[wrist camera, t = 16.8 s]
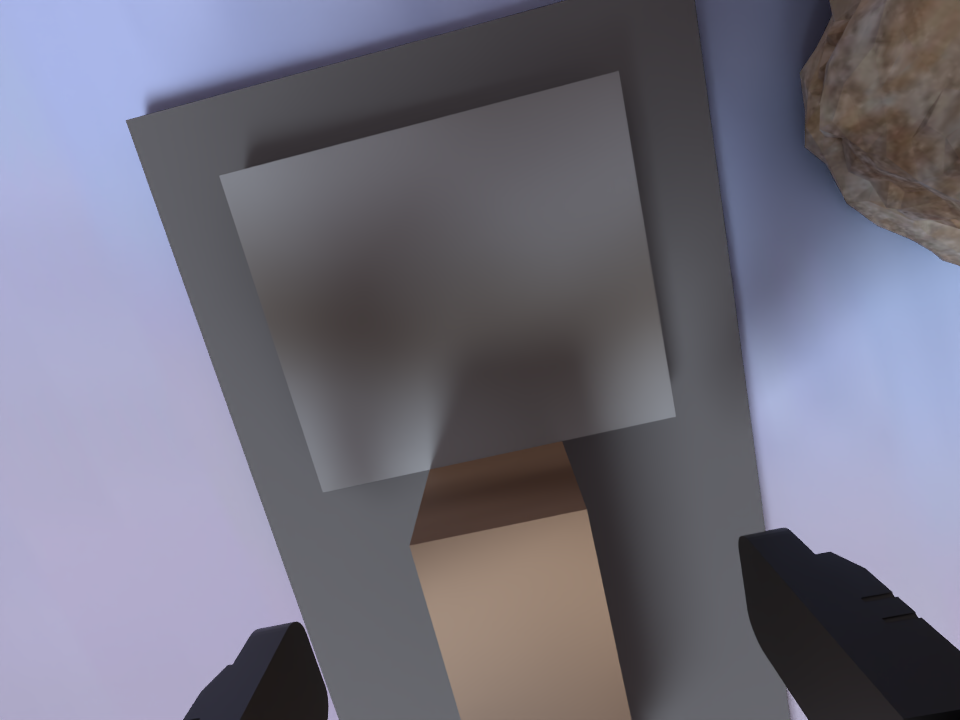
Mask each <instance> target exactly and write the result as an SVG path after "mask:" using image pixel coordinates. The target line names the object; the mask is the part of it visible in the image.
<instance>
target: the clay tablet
mask: <svg viewBox="0 0 960 720" xmlns="http://www.w3.org/2000/svg"><path fill="white" fill-rule="evenodd" d="M829 2H830V7H831V12H832V16H831V18H830V20H829V23H828V25H827V27H826V29H825V31H824V33H823V36H822V37H821V39H820V41H819V43H818V45H817V47H816V49H815V50H814V52H813V53H812V55H811V56H810V58H809V59H808V61H807V62H806V64H805V65H804V67H803V68H802V70H801V71H800V79H801V87H802V94H803V102H804V109H805V148H806V149H808V150H809V151H810V152H811V153H813V154H814V155H815V156H816V157H817V158H819V159H820V160H821V161H822V162H824V163H825V164H826V165H827V167H828V169H829V171H830V173H831V174H832V176H833V178H834V180H835V182H836V184H837V186H838V188H839V190H840V191H841V193H842V195H843V197H844V199H845V201H846V203H847V204H848V205H850V206H851V207H852V208H854V209H855V210H857V211H858V212H859V213H861V214H862V215H863V216H865V217H866V218H868V219H869V220H870V221H872V222H873V223H874V224H876V225H877V226H879V227H882V228H884V229H887V230H889V231H892V232H894V233H897V234H899V235H902V236H904V237H907V238H909V239H911V240H913V241H915V242H916V243H918V244H920V245H922V246H923V247H925V248H927V249H929V250H930V251H932V252H933V253H934V254H935V255H937V256H938V257H939V258H940V259H942V260H943V261H946V262H949V263H953V264H956V265H959V266H960V0H829Z"/></svg>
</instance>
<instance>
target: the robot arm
mask: <svg viewBox="0 0 960 720" xmlns="http://www.w3.org/2000/svg"><path fill="white" fill-rule="evenodd" d="M738 548H739V555H740V562H741V569H742V576H743V583H744V590H745V597H746V604H747V611H748V616H749V620H750V623H751V626H752V629H753V631H754V634H755V636H756V639H757V641H758V643H759V645H760V647H761V649H762V650H763V652H764V654H765V655H766V657H767V658H768V660H769V661H770V663H771V664H772V666H773V667H774V669H775V670H776V672H777V673H778V675H779V676H780V678H781V679H782V681H783V682H784V684H785V685H786V687H787V688H788V690H789V691H790V693H791V694H792V696H793V697H794V699H795V700H796V702H797V703H798V705H799V706H800V708H801V709H802V711H803V712H804V714H805V715H806V717H807V718H808V720H960V651H959V650H958V649H957V648H956V647H955V646H953V645H952V644H951V643H950V642H949V641H948V640H947V639H945V638H944V637H943V636H942V635H941V634H940V633H939V632H937V631H936V630H935V629H934V628H933V627H932V626H931V625H929V624H928V623H927V622H926V621H925V620H924V619H923V618H918V617H917V615H916V613H915V611H913V610H912V609H911V608H910V607H909V606H908V605H907V604H905V603H904V602H903V601H902V600H901V599H900V598H899V597H894V595H893V593H892V591H890V590H889V589H888V588H887V587H886V586H885V585H884V584H882V583H881V582H880V581H879V580H878V579H877V578H876V577H874V576H873V575H872V574H871V573H870V572H869V571H868V570H866V569H865V568H863V567H861V566H859V565H857V564H855V563H853V562H851V561H849V560H847V559H844V558H842V557H840V556H838V555H836V554H834V553H832V552H826V553H821V554H816V555H815V554H814V553H813V552H812V551H811V550H810V549H809V548H808V547H807V546H806V545H805V544H804V543H803V542H802V541H801V540H800V539H799V538H798V537H797V536H796V535H795V534H793V533H792V532H791V531H790V530H789V529H787V528H779V529H774V530H769V531H764V532H759V533H754V534H749V535H744V536H740V537H739V541H738ZM327 719H328V696H327V690H326V687H325V684H324V681H323V678H322V676H321V673H320V670H319V667H318V665H317V662H316V659H315V656H314V653H313V651H312V648H311V645H310V642H309V639H308V637H307V634H306V631H305V629H304V627H303V626H302V625H301V623H299V622H292V623H287V624H282V625H277V626H271V627H266V628H261V629H257V630H255V631H254V632H253V633H252V634H251V636H250V637H249V639H248V640H247V642H246V644H245V645H244V647H243V649H242V650H241V652H240V654H239V655H238V657H237V658H236V660H235V662H234V663H233V665H227V666H226V667H225V668H224V669H223V670H222V671H221V672H220V673H219V674H218V675H217V676H216V677H215V678H214V679H213V680H212V681H211V682H210V683H209V684H208V685H207V686H206V687H205V688H204V689H203V690H202V691H201V693H200V694H199V696H198V697H197V699H196V701H195V702H194V704H193V705H192V707H191V708H190V710H189V711H188V713H187V715H186V716H185V718H184V719H183V720H327Z"/></svg>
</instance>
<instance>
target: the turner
mask: <svg viewBox="0 0 960 720" xmlns="http://www.w3.org/2000/svg"><path fill="white" fill-rule="evenodd" d="M219 177H220V180H221V183H222V186H223V189H224V192H225V195H226V198H227V201H228V204H229V207H230V211H231V214H232V217H233V220H234V223H235V226H236V229H237V232H238V235H239V238H240V241H241V244H242V247H243V250H244V253H245V256H246V259H247V262H248V265H249V269H250V272H251V275H252V278H253V281H254V284H255V287H256V290H257V293H258V296H259V299H260V302H261V305H262V308H263V311H264V314H265V317H266V320H267V323H268V326H269V330H270V333H271V336H272V339H273V342H274V345H275V348H276V351H277V354H278V357H279V360H280V363H281V366H282V369H283V372H284V375H285V378H286V381H287V384H288V388H289V391H290V394H291V397H292V400H293V403H294V406H295V409H296V412H297V415H298V418H299V421H300V424H301V427H302V430H303V433H304V436H305V439H306V442H307V445H308V449H309V452H310V455H311V458H312V461H313V464H314V467H315V470H316V473H317V476H318V479H319V482H320V485H321V488H322V491H323V492H328V491H333V490H337V489H342V488H347V487H351V486H356V485H360V484H365V483H370V482H374V481H379V480H384V479H388V478H393V477H398V476H402V475H407V474H412V473H416V472H421V471H426V470H429V474H428V478H427V482H426V485H425V489H424V493H423V497H422V500H421V504H420V508H419V512H418V515H417V519H416V523H415V527H414V530H413V534H412V538H411V541H410V545H409V546H410V549H411V553H412V556H413V560H414V563H415V566H416V570H417V573H418V576H419V580H420V583H421V587H422V590H423V593H424V597H425V600H426V603H427V607H428V610H429V614H430V617H431V620H432V624H433V627H434V630H435V634H436V637H437V641H438V644H439V647H440V651H441V654H442V657H443V661H444V664H445V668H446V671H447V674H448V678H449V681H450V684H451V688H452V691H453V695H454V698H455V701H456V705H457V708H458V711H459V715H460V718H461V720H631V715H630V710H629V705H628V701H627V696H626V691H625V687H624V682H623V677H622V672H621V668H620V663H619V658H618V654H617V649H616V644H615V639H614V635H613V630H612V625H611V621H610V616H609V611H608V606H607V602H606V597H605V592H604V588H603V583H602V578H601V573H600V569H599V564H598V559H597V555H596V550H595V545H594V540H593V536H592V531H591V526H590V522H589V517H588V512H587V508H586V505H585V503H584V500H583V497H582V495H581V492H580V489H579V486H578V484H577V481H576V478H575V475H574V473H573V470H572V467H571V464H570V462H569V459H568V456H567V453H566V451H565V448H564V445H563V442H562V441H565V440H570V439H574V438H579V437H584V436H588V435H593V434H598V433H602V432H607V431H612V430H616V429H621V428H625V427H630V426H635V425H639V424H644V423H649V422H653V421H658V420H663V419H667V418H672V417H676V414H675V408H674V402H673V396H672V389H671V383H670V377H669V371H668V365H667V359H666V353H665V347H664V341H663V335H662V329H661V323H660V317H659V311H658V305H657V299H656V293H655V287H654V281H653V275H652V269H651V263H650V257H649V251H648V244H647V238H646V232H645V226H644V220H643V214H642V208H641V202H640V196H639V190H638V184H637V178H636V172H635V166H634V160H633V154H632V148H631V142H630V136H629V130H628V124H627V118H626V112H625V106H624V100H623V93H622V87H621V81H620V75H619V71H616V72H613V73H609V74H605V75H601V76H597V77H594V78H590V79H586V80H582V81H578V82H574V83H571V84H567V85H563V86H559V87H555V88H552V89H548V90H544V91H540V92H536V93H533V94H529V95H525V96H521V97H517V98H514V99H510V100H506V101H502V102H498V103H494V104H491V105H487V106H483V107H479V108H475V109H472V110H468V111H464V112H460V113H456V114H453V115H449V116H445V117H441V118H437V119H433V120H430V121H426V122H422V123H418V124H414V125H411V126H407V127H403V128H399V129H395V130H392V131H388V132H384V133H380V134H376V135H373V136H369V137H365V138H361V139H357V140H353V141H350V142H346V143H342V144H338V145H334V146H331V147H327V148H323V149H319V150H315V151H312V152H308V153H304V154H300V155H296V156H293V157H289V158H285V159H281V160H277V161H273V162H270V163H266V164H262V165H258V166H254V167H251V168H247V169H243V170H239V171H235V172H232V173H228V174H224V175H220V176H219Z"/></svg>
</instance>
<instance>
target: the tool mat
mask: <svg viewBox="0 0 960 720" xmlns="http://www.w3.org/2000/svg"><path fill="white" fill-rule="evenodd" d="M616 71H619V75H620V81H621V87H622V93H623V100H624V106H625V112H626V118H627V124H628V130H629V136H630V142H631V148H632V154H633V160H634V166H635V172H636V178H637V184H638V190H639V196H640V202H641V208H642V214H643V220H644V226H645V232H646V238H647V244H648V251H649V257H650V263H651V269H652V275H653V281H654V287H655V293H656V299H657V305H658V311H659V317H660V323H661V329H662V335H663V341H664V347H665V353H666V359H667V365H668V371H669V377H670V383H671V389H672V396H673V402H674V408H675V414H676V417H672V418H667V419H663V420H658V421H653V422H649V423H644V424H639V425H635V426H630V427H625V428H621V429H616V430H612V431H607V432H602V433H598V434H593V435H588V436H584V437H579V438H574V439H570V440H565V441H562V442H563V445H564V448H565V451H566V453H567V456H568V459H569V462H570V464H571V467H572V470H573V473H574V475H575V478H576V481H577V484H578V486H579V489H580V492H581V495H582V497H583V500H584V503H585V505H586V508H587V512H588V517H589V522H590V526H591V531H592V536H593V540H594V545H595V550H596V555H597V559H598V564H599V569H600V573H601V578H602V583H603V588H604V592H605V597H606V602H607V606H608V611H609V616H610V621H611V625H612V630H613V635H614V639H615V644H616V649H617V654H618V658H619V663H620V668H621V672H622V677H623V682H624V687H625V691H626V696H627V701H628V705H629V710H630V715H631V720H790V713H789V706H788V698H787V691H786V685H785V684H784V682H783V681H782V679H781V678H780V676H779V675H778V673H777V672H776V670H775V669H774V667H773V666H772V664H771V663H770V661H769V660H768V658H767V657H766V655H765V654H764V652H763V650H762V649H761V647H760V645H759V643H758V641H757V639H756V636H755V634H754V631H753V629H752V626H751V623H750V620H749V616H748V611H747V604H746V597H745V590H744V583H743V576H742V569H741V562H740V555H739V548H738V541H739V537H740V536H744V535H749V534H754V533H759V532H764V531H765V525H764V518H763V510H762V503H761V495H760V488H759V480H758V473H757V465H756V457H755V450H754V442H753V435H752V427H751V420H750V412H749V405H748V397H747V390H746V382H745V375H744V367H743V360H742V352H741V345H740V337H739V330H738V322H737V315H736V307H735V300H734V292H733V285H732V277H731V270H730V262H729V254H728V247H727V239H726V232H725V224H724V217H723V209H722V202H721V194H720V187H719V179H718V172H717V164H716V157H715V149H714V142H713V134H712V127H711V119H710V112H709V104H708V97H707V89H706V82H705V74H704V67H703V59H702V52H701V44H700V36H699V29H698V21H697V14H696V6H695V0H565V1H561V2H558V3H554V4H550V5H547V6H543V7H539V8H536V9H532V10H528V11H525V12H521V13H517V14H514V15H510V16H506V17H503V18H499V19H495V20H492V21H488V22H484V23H481V24H477V25H474V26H470V27H466V28H463V29H459V30H455V31H452V32H448V33H444V34H441V35H437V36H433V37H430V38H426V39H422V40H419V41H415V42H411V43H408V44H404V45H400V46H397V47H393V48H389V49H386V50H382V51H378V52H375V53H371V54H367V55H364V56H360V57H356V58H353V59H349V60H345V61H342V62H338V63H334V64H331V65H327V66H323V67H320V68H316V69H312V70H309V71H305V72H301V73H298V74H294V75H290V76H287V77H283V78H279V79H276V80H272V81H268V82H265V83H261V84H257V85H254V86H250V87H246V88H243V89H239V90H235V91H232V92H228V93H224V94H221V95H217V96H213V97H210V98H206V99H202V100H199V101H195V102H191V103H188V104H184V105H180V106H177V107H173V108H169V109H166V110H162V111H158V112H155V113H151V114H147V115H144V116H140V117H136V118H133V119H129V120H126V122H127V125H128V128H129V131H130V134H131V136H132V139H133V142H134V145H135V148H136V150H137V153H138V156H139V159H140V162H141V164H142V167H143V170H144V173H145V176H146V178H147V181H148V184H149V187H150V190H151V193H152V195H153V198H154V201H155V204H156V207H157V209H158V212H159V215H160V218H161V221H162V223H163V226H164V229H165V232H166V235H167V238H168V240H169V243H170V246H171V249H172V252H173V254H174V257H175V260H176V263H177V266H178V268H179V271H180V274H181V277H182V280H183V283H184V285H185V288H186V291H187V294H188V297H189V299H190V302H191V305H192V308H193V311H194V313H195V316H196V319H197V322H198V325H199V327H200V330H201V333H202V336H203V339H204V342H205V344H206V347H207V350H208V353H209V356H210V358H211V361H212V364H213V367H214V370H215V372H216V375H217V378H218V381H219V384H220V387H221V389H222V392H223V395H224V398H225V401H226V403H227V406H228V409H229V412H230V415H231V417H232V420H233V423H234V426H235V429H236V431H237V434H238V437H239V440H240V443H241V446H242V448H243V451H244V454H245V457H246V460H247V462H248V465H249V468H250V471H251V474H252V476H253V479H254V482H255V485H256V488H257V491H258V493H259V496H260V499H261V502H262V505H263V507H264V510H265V513H266V516H267V519H268V521H269V524H270V527H271V530H272V533H273V536H274V538H275V541H276V544H277V547H278V550H279V552H280V555H281V558H282V561H283V564H284V566H285V569H286V572H287V575H288V578H289V580H290V583H291V586H292V589H293V592H294V595H295V597H296V600H297V603H298V606H299V609H300V611H301V614H302V617H303V620H304V623H305V625H306V628H307V631H308V634H309V637H310V640H311V642H312V645H313V648H314V651H315V654H316V656H317V659H318V662H319V665H320V668H321V670H322V673H323V676H324V679H325V682H326V684H327V687H328V690H329V693H330V696H331V699H332V701H333V704H334V707H335V710H336V713H337V715H338V718H339V720H461V718H460V715H459V711H458V708H457V705H456V701H455V698H454V695H453V691H452V688H451V684H450V681H449V678H448V674H447V671H446V668H445V664H444V661H443V657H442V654H441V651H440V647H439V644H438V641H437V637H436V634H435V630H434V627H433V624H432V620H431V617H430V614H429V610H428V607H427V603H426V600H425V597H424V593H423V590H422V587H421V583H420V580H419V576H418V573H417V570H416V566H415V563H414V560H413V556H412V553H411V549H410V546H409V545H410V541H411V538H412V534H413V530H414V527H415V523H416V519H417V515H418V512H419V508H420V504H421V500H422V497H423V493H424V489H425V485H426V482H427V478H428V474H429V470H426V471H421V472H416V473H412V474H407V475H402V476H398V477H393V478H388V479H384V480H379V481H374V482H370V483H365V484H360V485H356V486H351V487H347V488H342V489H337V490H333V491H328V492H323V491H322V488H321V485H320V482H319V479H318V476H317V473H316V470H315V467H314V464H313V461H312V458H311V455H310V452H309V449H308V445H307V442H306V439H305V436H304V433H303V430H302V427H301V424H300V421H299V418H298V415H297V412H296V409H295V406H294V403H293V400H292V397H291V394H290V391H289V388H288V384H287V381H286V378H285V375H284V372H283V369H282V366H281V363H280V360H279V357H278V354H277V351H276V348H275V345H274V342H273V339H272V336H271V333H270V330H269V326H268V323H267V320H266V317H265V314H264V311H263V308H262V305H261V302H260V299H259V296H258V293H257V290H256V287H255V284H254V281H253V278H252V275H251V272H250V269H249V265H248V262H247V259H246V256H245V253H244V250H243V247H242V244H241V241H240V238H239V235H238V232H237V229H236V226H235V223H234V220H233V217H232V214H231V211H230V207H229V204H228V201H227V198H226V195H225V192H224V189H223V186H222V183H221V180H220V177H219V176H220V175H224V174H228V173H232V172H235V171H239V170H243V169H247V168H251V167H254V166H258V165H262V164H266V163H270V162H273V161H277V160H281V159H285V158H289V157H293V156H296V155H300V154H304V153H308V152H312V151H315V150H319V149H323V148H327V147H331V146H334V145H338V144H342V143H346V142H350V141H353V140H357V139H361V138H365V137H369V136H373V135H376V134H380V133H384V132H388V131H392V130H395V129H399V128H403V127H407V126H411V125H414V124H418V123H422V122H426V121H430V120H433V119H437V118H441V117H445V116H449V115H453V114H456V113H460V112H464V111H468V110H472V109H475V108H479V107H483V106H487V105H491V104H494V103H498V102H502V101H506V100H510V99H514V98H517V97H521V96H525V95H529V94H533V93H536V92H540V91H544V90H548V89H552V88H555V87H559V86H563V85H567V84H571V83H574V82H578V81H582V80H586V79H590V78H594V77H597V76H601V75H605V74H609V73H613V72H616Z"/></svg>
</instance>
